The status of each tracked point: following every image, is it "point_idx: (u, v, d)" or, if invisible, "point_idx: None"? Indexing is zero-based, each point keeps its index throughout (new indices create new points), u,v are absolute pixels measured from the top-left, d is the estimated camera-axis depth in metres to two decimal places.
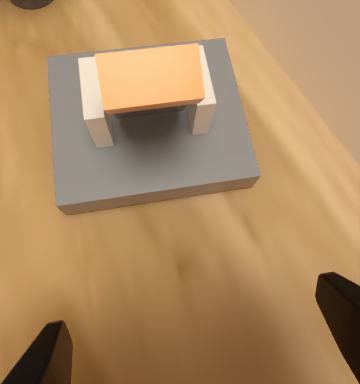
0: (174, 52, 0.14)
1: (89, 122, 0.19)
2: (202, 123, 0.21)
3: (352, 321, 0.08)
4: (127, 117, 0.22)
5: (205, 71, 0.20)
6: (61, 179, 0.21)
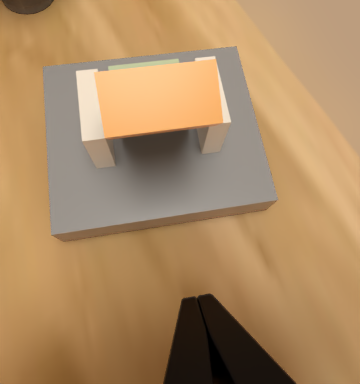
0: (187, 70, 0.12)
1: (88, 143, 0.17)
2: (214, 142, 0.19)
3: (210, 349, 0.07)
4: None
5: None
6: (57, 203, 0.19)
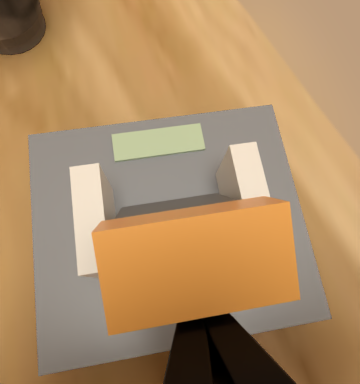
0: (244, 221, 0.07)
1: (87, 275, 0.12)
2: None
3: (210, 349, 0.07)
4: None
5: (262, 186, 0.13)
6: (47, 330, 0.15)
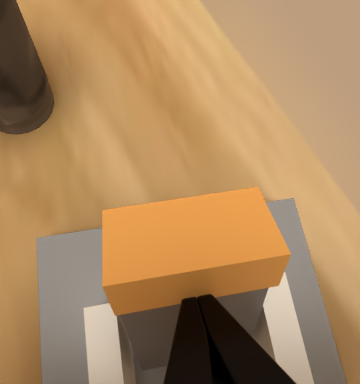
0: (223, 199, 0.09)
1: None
2: None
3: (210, 349, 0.07)
4: (159, 365, 0.13)
5: (293, 326, 0.12)
6: None
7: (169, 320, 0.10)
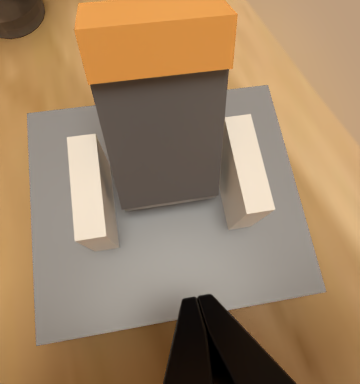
0: None
1: (83, 241, 0.12)
2: (247, 222, 0.15)
3: (210, 349, 0.07)
4: (137, 203, 0.15)
5: (256, 156, 0.13)
6: (45, 301, 0.15)
7: (140, 124, 0.12)
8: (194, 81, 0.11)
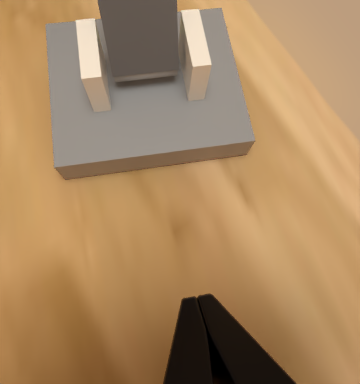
0: None
1: (87, 82, 0.19)
2: (198, 87, 0.22)
3: (210, 349, 0.07)
4: (122, 72, 0.21)
5: (201, 34, 0.20)
6: (59, 141, 0.22)
7: (123, 1, 0.18)
8: None
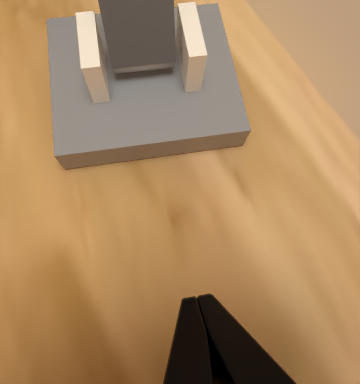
0: None
1: (86, 71, 0.20)
2: (195, 78, 0.22)
3: (210, 349, 0.07)
4: (121, 63, 0.22)
5: (197, 26, 0.21)
6: (60, 131, 0.22)
7: None
8: None
